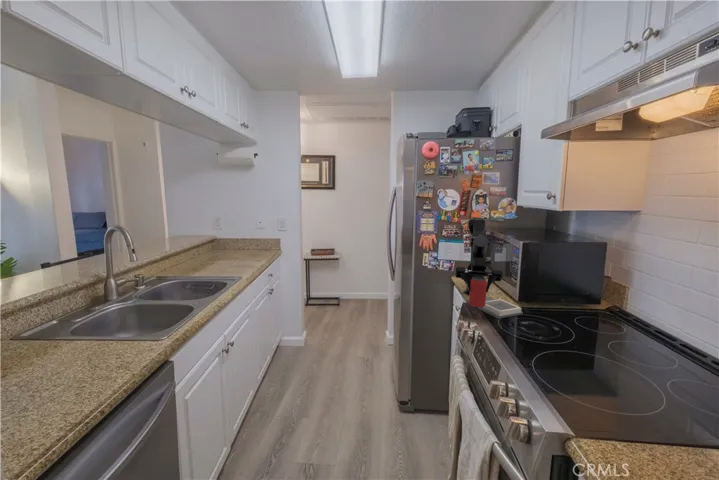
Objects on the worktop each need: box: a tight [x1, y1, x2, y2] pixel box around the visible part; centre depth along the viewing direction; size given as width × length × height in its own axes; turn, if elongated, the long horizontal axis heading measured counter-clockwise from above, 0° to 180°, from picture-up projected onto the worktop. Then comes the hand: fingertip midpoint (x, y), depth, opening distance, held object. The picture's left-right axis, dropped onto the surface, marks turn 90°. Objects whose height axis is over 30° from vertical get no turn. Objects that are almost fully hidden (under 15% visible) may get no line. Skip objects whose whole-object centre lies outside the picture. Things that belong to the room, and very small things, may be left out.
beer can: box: [468, 276, 487, 309], centre depth 134 cm, size 7×7×12 cm
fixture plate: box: [465, 296, 524, 320], centre depth 146 cm, size 20×14×3 cm
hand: (478, 291), depth 132 cm, fingers closed on beer can, 7 cm apart
